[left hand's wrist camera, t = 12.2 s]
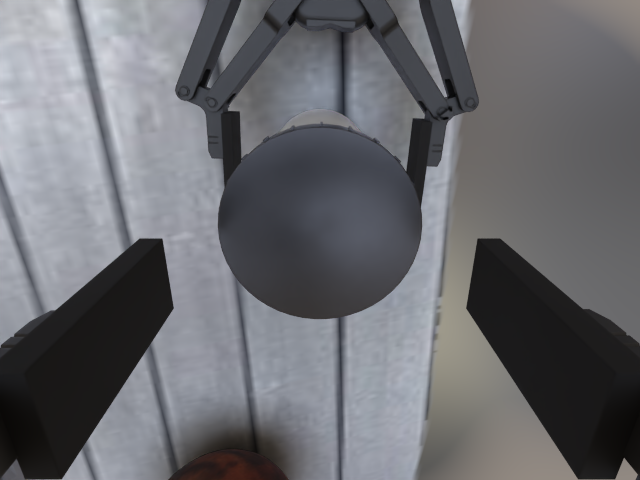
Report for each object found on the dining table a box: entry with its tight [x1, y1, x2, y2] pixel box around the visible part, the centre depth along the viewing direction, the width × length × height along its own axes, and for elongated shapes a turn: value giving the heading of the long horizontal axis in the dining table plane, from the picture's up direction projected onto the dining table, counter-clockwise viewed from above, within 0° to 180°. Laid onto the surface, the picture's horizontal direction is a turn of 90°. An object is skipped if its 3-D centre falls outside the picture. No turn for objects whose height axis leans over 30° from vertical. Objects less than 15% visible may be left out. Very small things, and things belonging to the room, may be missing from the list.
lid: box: [218, 122, 422, 319], centre depth 18 cm, size 9×9×2 cm
